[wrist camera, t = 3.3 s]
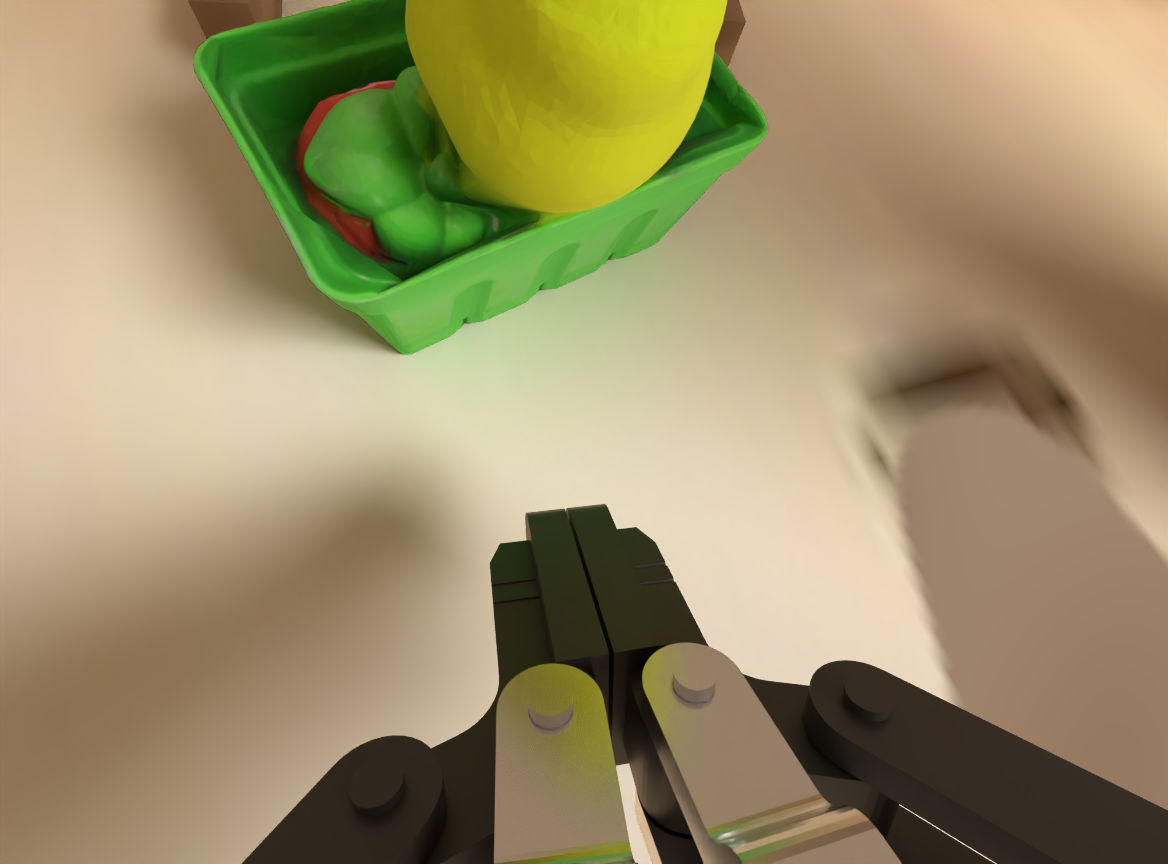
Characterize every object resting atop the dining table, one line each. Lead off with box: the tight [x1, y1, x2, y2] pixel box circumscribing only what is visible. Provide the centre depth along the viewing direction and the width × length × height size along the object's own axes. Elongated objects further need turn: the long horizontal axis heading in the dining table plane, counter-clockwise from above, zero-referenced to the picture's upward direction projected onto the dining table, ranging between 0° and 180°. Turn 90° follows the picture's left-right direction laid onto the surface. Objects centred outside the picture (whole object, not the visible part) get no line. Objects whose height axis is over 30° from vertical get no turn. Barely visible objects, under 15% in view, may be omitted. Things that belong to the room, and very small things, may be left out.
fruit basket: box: [194, 0, 768, 355], centre depth 13 cm, size 11×9×11 cm
